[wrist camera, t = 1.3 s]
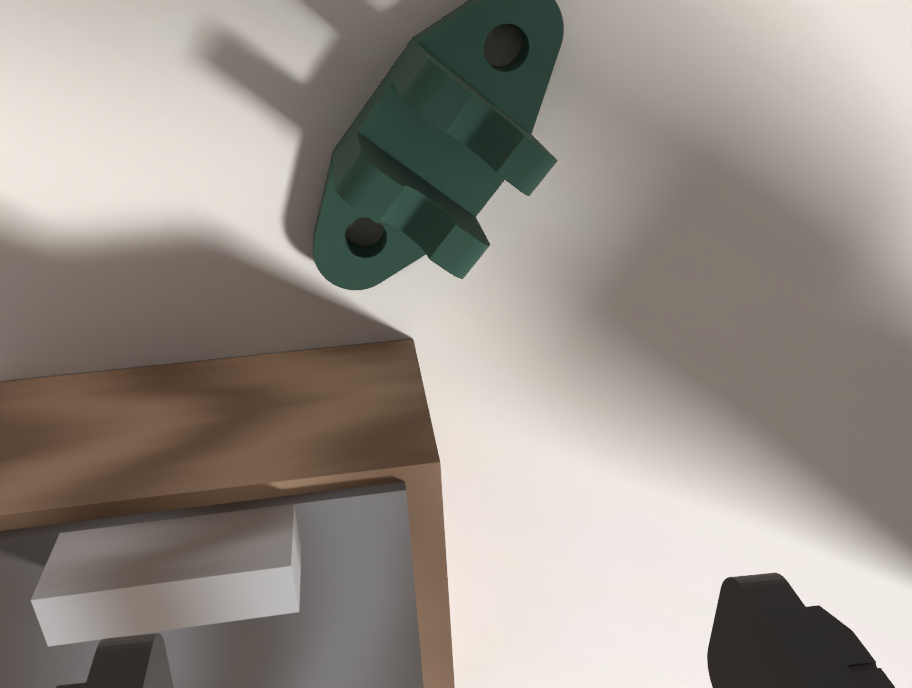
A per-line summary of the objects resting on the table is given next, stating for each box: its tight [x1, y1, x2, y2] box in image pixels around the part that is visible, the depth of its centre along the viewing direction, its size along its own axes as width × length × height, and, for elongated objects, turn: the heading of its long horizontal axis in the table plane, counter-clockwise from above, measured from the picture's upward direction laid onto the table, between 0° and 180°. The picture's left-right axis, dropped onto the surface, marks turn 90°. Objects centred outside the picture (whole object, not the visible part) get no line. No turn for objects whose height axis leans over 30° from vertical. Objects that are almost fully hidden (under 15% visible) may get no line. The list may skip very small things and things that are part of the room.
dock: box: [0, 339, 454, 688], centre depth 28 cm, size 14×18×10 cm
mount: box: [313, 0, 563, 290], centre depth 24 cm, size 11×4×5 cm, turn 142°
